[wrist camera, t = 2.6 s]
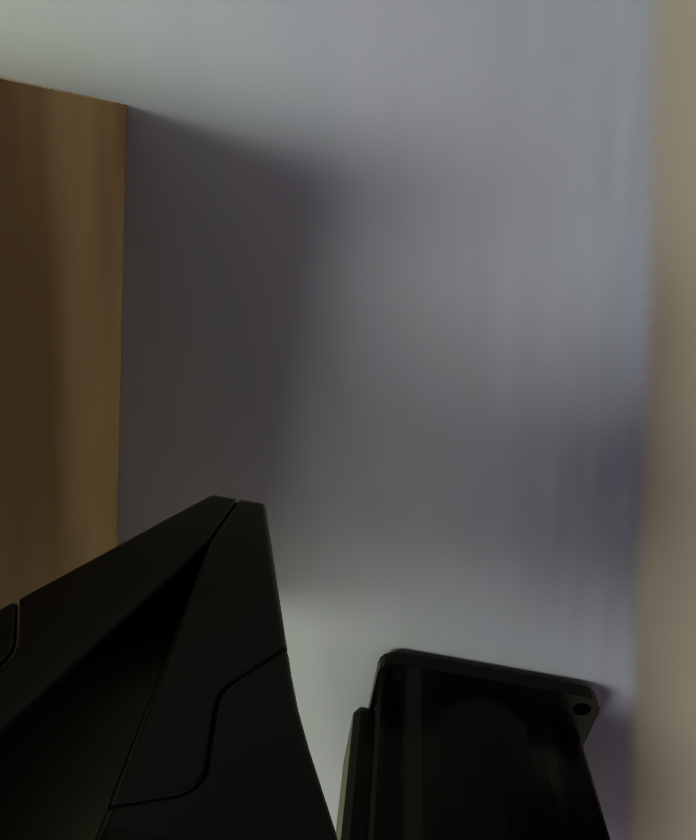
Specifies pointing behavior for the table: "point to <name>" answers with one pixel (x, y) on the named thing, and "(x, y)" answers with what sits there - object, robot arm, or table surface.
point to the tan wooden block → (58, 331)
